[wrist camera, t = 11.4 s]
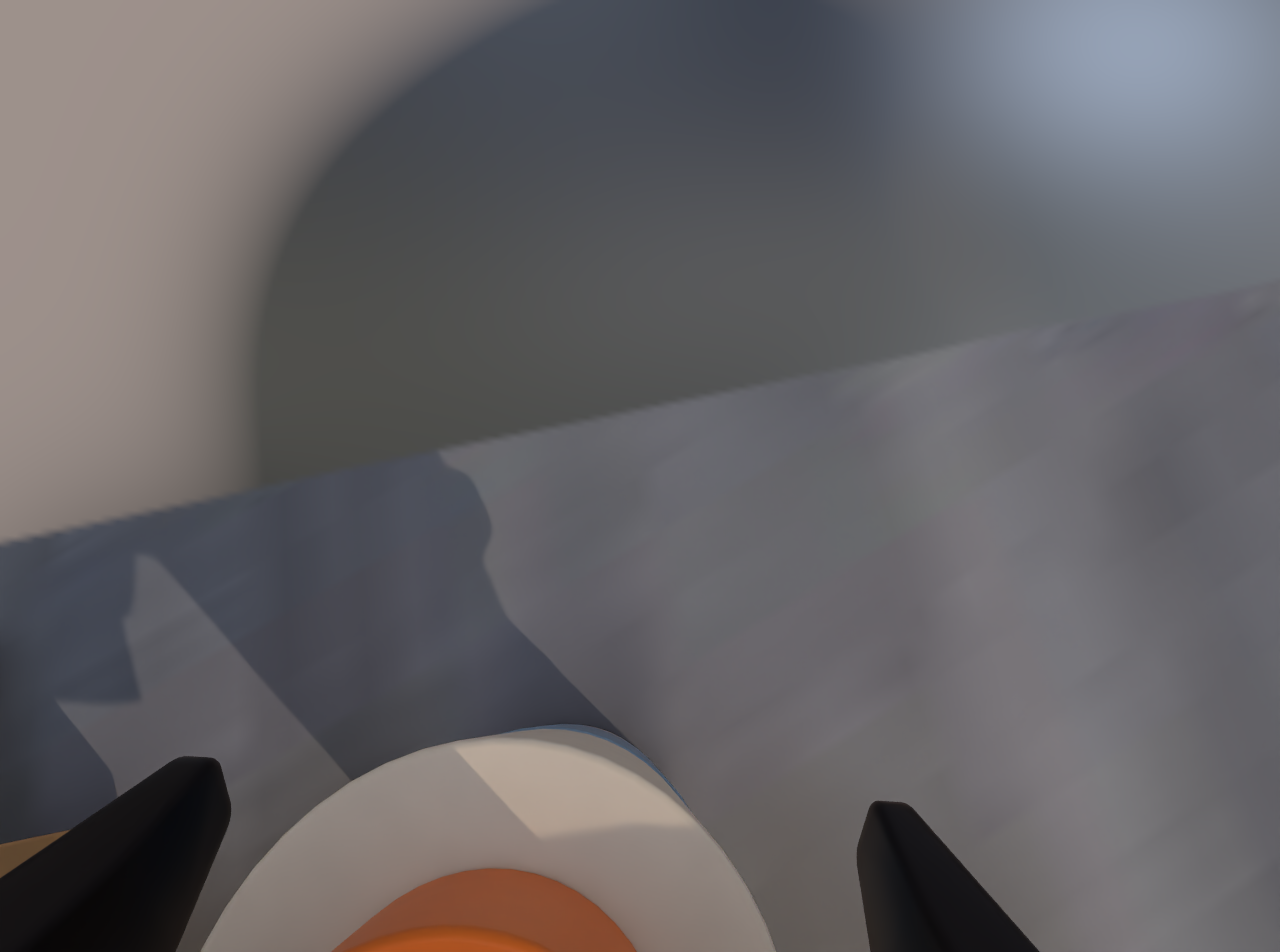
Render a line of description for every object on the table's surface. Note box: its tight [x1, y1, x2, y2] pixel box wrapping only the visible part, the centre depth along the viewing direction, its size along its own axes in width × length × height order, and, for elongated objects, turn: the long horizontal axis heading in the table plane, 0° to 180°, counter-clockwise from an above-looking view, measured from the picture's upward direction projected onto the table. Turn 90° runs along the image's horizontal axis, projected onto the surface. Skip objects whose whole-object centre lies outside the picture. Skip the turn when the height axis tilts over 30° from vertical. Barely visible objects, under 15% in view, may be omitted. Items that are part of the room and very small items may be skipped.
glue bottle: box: [201, 724, 776, 952], centre depth 8 cm, size 4×4×12 cm
